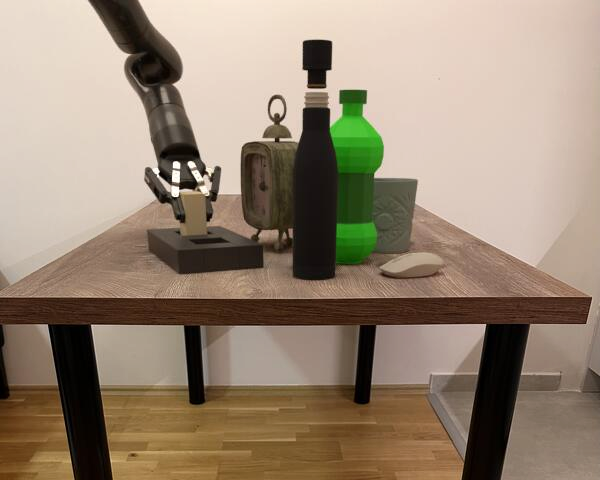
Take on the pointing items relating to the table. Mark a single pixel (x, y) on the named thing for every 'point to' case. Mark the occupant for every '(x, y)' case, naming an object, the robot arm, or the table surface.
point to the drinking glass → (393, 213)
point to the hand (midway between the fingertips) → (195, 219)
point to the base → (205, 250)
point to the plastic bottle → (355, 178)
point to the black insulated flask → (315, 174)
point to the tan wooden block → (193, 213)
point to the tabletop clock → (269, 180)
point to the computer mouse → (413, 265)
